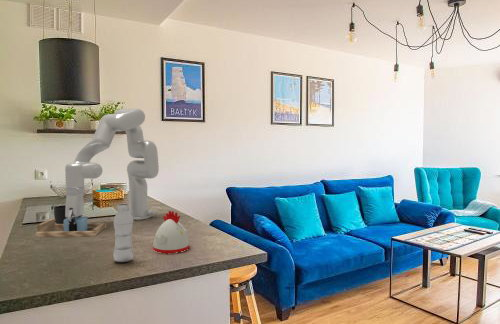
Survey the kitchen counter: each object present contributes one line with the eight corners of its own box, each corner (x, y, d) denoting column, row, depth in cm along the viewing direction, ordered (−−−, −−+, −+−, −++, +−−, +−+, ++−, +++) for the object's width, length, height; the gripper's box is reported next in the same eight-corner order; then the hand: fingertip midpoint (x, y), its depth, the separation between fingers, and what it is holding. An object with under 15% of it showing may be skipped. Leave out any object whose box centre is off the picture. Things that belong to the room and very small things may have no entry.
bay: (105, 229, 170) (105, 217, 170) (95, 238, 154) (95, 224, 154) (52, 230, 168) (52, 217, 167) (36, 239, 152) (35, 225, 151)
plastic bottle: (116, 258, 129) (115, 203, 127) (135, 258, 129) (135, 203, 128) (110, 264, 122) (110, 206, 121) (131, 264, 123) (130, 206, 122)
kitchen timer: (171, 256, 132) (171, 216, 131) (145, 250, 139) (145, 212, 138) (196, 247, 143) (196, 210, 143) (171, 242, 151) (171, 206, 150)
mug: (80, 226, 176) (80, 207, 176) (53, 228, 172) (52, 208, 171) (81, 222, 184) (81, 204, 183) (55, 224, 179) (54, 205, 179)
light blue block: (87, 230, 164) (87, 216, 164) (82, 233, 158) (82, 219, 158) (69, 230, 164) (68, 216, 163) (63, 233, 158) (63, 219, 157)
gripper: (73, 188, 168) (74, 226, 169) (58, 194, 151) (59, 236, 152) (90, 188, 169) (90, 226, 170) (76, 193, 152) (77, 235, 153)
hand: (75, 230), depth 161 cm, fingers closed on light blue block, 6 cm apart
